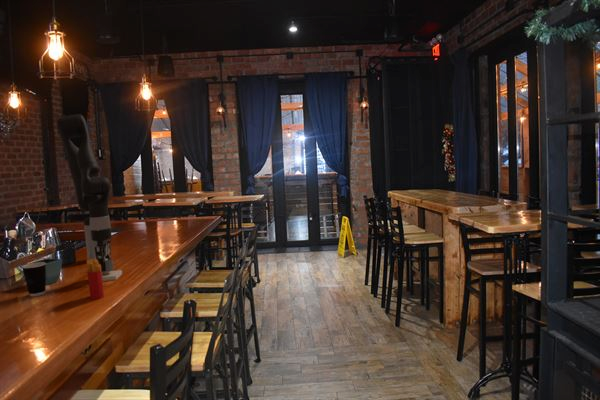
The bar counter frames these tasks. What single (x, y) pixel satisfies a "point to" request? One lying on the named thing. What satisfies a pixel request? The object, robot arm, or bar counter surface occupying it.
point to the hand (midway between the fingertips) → (105, 269)
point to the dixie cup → (35, 278)
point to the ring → (109, 265)
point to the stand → (111, 275)
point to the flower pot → (51, 269)
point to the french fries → (95, 279)
